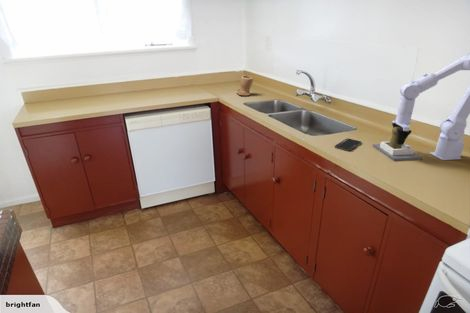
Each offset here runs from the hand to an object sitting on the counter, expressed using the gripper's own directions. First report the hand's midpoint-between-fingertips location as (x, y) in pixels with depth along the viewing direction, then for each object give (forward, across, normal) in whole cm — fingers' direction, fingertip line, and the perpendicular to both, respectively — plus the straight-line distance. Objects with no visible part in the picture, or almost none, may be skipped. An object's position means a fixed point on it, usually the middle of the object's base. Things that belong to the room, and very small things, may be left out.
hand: (398, 141), depth 140 cm
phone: (+6, -4, -20) cm, 22 cm away
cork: (+5, 0, -1) cm, 5 cm away
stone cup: (+6, -101, -92) cm, 136 cm away
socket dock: (+5, 0, 0) cm, 5 cm away
